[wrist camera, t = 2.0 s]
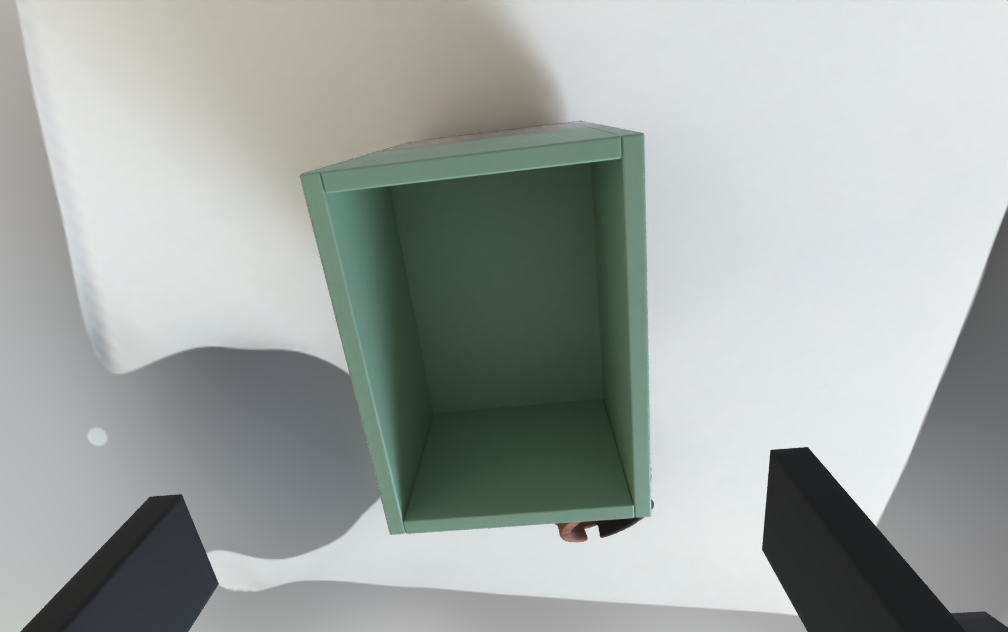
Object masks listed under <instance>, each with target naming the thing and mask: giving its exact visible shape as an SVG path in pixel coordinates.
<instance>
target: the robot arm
mask: <svg viewBox="0 0 1008 632" xmlns="http://www.w3.org/2000/svg"><path fill="white" fill-rule="evenodd" d="M762 550H763V552H764V554H765V556H766V557H767V559H768V561H769V563H770V565H771V566H772V568H773V570H774V572H775V574H776V575H777V577H778V579H779V581H780V583H781V584H782V586H783V588H784V590H785V592H786V593H787V595H788V597H789V599H790V601H791V602H792V604H793V606H794V608H795V610H796V612H797V613H798V615H799V617H800V619H801V621H802V622H803V624H804V626H805V628H806V630H807V631H808V632H1008V627H1006V626H1005V625H1003V624H1002V623H1001V622H999V621H998V620H996V619H995V618H994V617H992V616H991V615H989V614H988V613H986V612H968V613H950V612H949V611H948V610H947V609H946V607H945V606H944V605H943V604H942V603H941V602H940V601H939V599H938V598H937V597H936V596H935V595H934V593H933V592H932V591H931V590H930V589H929V588H928V586H927V585H926V584H925V583H924V582H923V581H922V579H921V578H920V577H919V576H918V575H917V574H916V573H915V571H914V570H913V569H912V568H911V567H910V566H909V564H908V563H907V562H906V561H905V560H904V559H903V557H902V556H901V555H900V554H899V553H898V552H897V550H896V549H895V548H894V547H893V546H892V545H891V544H890V542H889V541H888V540H887V539H886V538H885V536H884V535H883V534H882V533H881V532H880V531H879V530H878V528H877V527H876V526H875V525H874V524H873V522H872V521H871V520H870V519H869V518H868V517H867V515H866V514H865V513H864V512H863V511H862V510H861V508H860V507H859V506H858V505H857V504H856V503H855V502H854V500H853V499H852V498H851V497H850V496H849V495H848V493H847V492H846V491H845V490H844V489H843V488H842V486H841V485H840V484H839V483H838V482H837V481H836V479H835V478H834V477H833V476H832V475H831V474H830V472H829V471H828V470H827V469H826V468H825V467H824V465H823V464H822V463H821V462H820V461H819V460H818V458H817V457H816V456H815V455H814V454H813V453H812V451H811V450H810V449H809V448H808V447H803V448H790V449H777V450H771V451H770V463H769V474H768V486H767V498H766V510H765V522H764V534H763V546H762ZM218 584H219V583H218V581H217V579H216V576H215V574H214V571H213V569H212V566H211V564H210V562H209V559H208V557H207V554H206V552H205V550H204V547H203V545H202V542H201V540H200V537H199V535H198V533H197V530H196V528H195V525H194V523H193V521H192V518H191V516H190V513H189V511H188V509H187V506H186V504H185V501H184V499H183V496H182V495H167V496H153V497H149V498H148V499H147V500H146V501H145V502H144V504H143V505H142V506H141V507H140V508H139V509H138V510H137V511H136V512H135V513H134V514H133V515H132V516H131V517H130V518H129V519H128V520H127V521H126V522H125V523H124V524H123V525H122V527H121V528H120V529H119V530H118V531H117V532H116V533H115V534H114V535H113V536H112V537H111V538H110V539H109V540H108V541H107V542H106V543H105V544H104V545H103V546H102V547H101V548H100V549H99V550H98V551H97V552H96V553H95V555H94V556H93V557H92V558H91V559H90V560H89V561H88V562H87V563H86V564H85V565H84V566H83V567H82V568H81V569H80V570H79V571H78V572H77V573H76V575H74V576H73V578H71V580H70V581H69V582H68V583H67V584H66V585H65V586H64V587H63V588H62V589H61V590H60V591H59V592H58V593H57V594H56V595H55V596H54V597H53V598H52V599H51V600H50V601H49V602H48V604H47V605H46V606H45V607H44V608H43V609H42V610H41V611H40V612H39V613H38V614H37V615H36V616H35V617H34V618H33V619H32V620H31V621H30V622H29V623H28V624H27V625H26V626H25V627H24V628H23V630H22V631H21V632H188V631H189V630H190V628H191V626H192V625H193V623H194V622H195V620H196V619H197V617H198V616H199V614H200V612H201V611H202V609H203V608H204V606H205V604H206V603H207V601H208V600H209V598H210V597H211V595H212V594H213V592H214V591H215V589H216V587H217V586H218Z"/></svg>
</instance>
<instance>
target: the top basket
mask: <svg viewBox="0 0 1008 632" xmlns="http://www.w3.org/2000/svg"><path fill="white" fill-rule="evenodd" d="M300 179H301V183H302V187H303V191H304V195H305V199H306V202H307V206H308V210H309V214H310V218H311V222H312V226H313V230H314V234H315V238H316V242H317V246H318V250H319V254H320V258H321V262H322V266H323V270H324V274H325V278H326V282H327V286H328V290H329V294H330V298H331V302H332V306H333V310H334V314H335V318H336V322H337V326H338V330H339V334H340V338H341V341H342V345H343V349H344V353H345V357H346V361H347V365H348V369H349V373H350V377H351V381H352V385H353V389H354V393H355V397H356V401H357V405H358V409H359V413H360V417H361V421H362V424H363V429H364V433H365V437H366V441H367V445H368V449H369V453H370V457H371V461H372V465H373V469H374V472H375V476H376V480H377V484H378V488H379V492H380V496H381V500H382V504H383V508H384V512H385V516H386V520H387V524H388V528H389V532H390V534H391V535H393V534H404V533H405V532H406V534H411V533H425V532H439V531H454V530H468V529H483V528H497V527H511V526H526V525H540V524H555V523H569V522H584V521H598V520H612V519H627V518H634V516H635V517H636V518H638V517H650V516H651V469H650V416H649V362H648V309H647V255H646V202H645V149H644V134H643V133H640V132H635V131H630V130H624V129H619V128H614V127H609V126H604V125H596V126H588V127H580V128H571V129H563V130H555V131H547V132H539V133H531V134H522V135H514V136H506V137H498V138H490V139H482V140H473V141H465V142H457V143H449V144H441V145H433V146H424V147H416V148H408V149H400V150H392V151H384V152H375V153H371V154H368V155H364V156H361V157H357V158H354V159H350V160H347V161H344V162H340V163H337V164H333V165H330V166H327V167H323V168H320V169H316V170H313V171H310V172H306V173H303V174H301V175H300Z"/></svg>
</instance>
